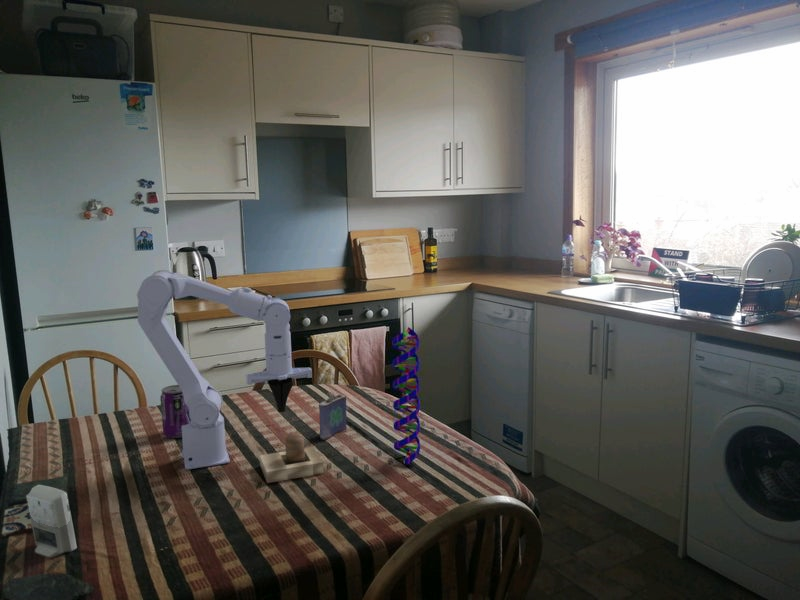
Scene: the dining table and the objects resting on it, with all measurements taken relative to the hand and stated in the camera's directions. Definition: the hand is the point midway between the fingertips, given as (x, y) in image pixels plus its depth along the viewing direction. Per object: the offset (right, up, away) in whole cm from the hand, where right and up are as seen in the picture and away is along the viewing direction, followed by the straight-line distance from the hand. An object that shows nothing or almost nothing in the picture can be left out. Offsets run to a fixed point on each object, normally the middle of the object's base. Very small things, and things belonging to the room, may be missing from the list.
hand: (281, 410), depth 146 cm
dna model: (+29, -11, -3) cm, 31 cm away
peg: (+4, -12, -6) cm, 14 cm away
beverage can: (-28, -9, +14) cm, 33 cm away
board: (+4, -12, -7) cm, 14 cm away
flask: (+11, -8, +13) cm, 19 cm away
